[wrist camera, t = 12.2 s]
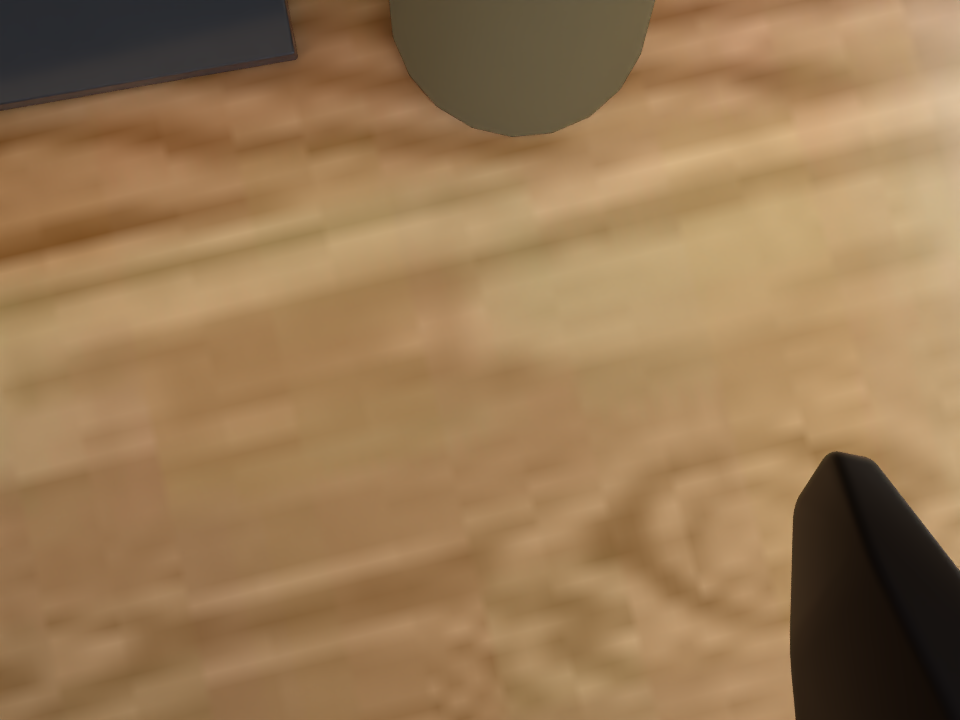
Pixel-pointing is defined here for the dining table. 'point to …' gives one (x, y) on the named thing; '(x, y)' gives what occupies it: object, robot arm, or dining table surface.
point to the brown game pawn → (520, 57)
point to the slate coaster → (131, 44)
